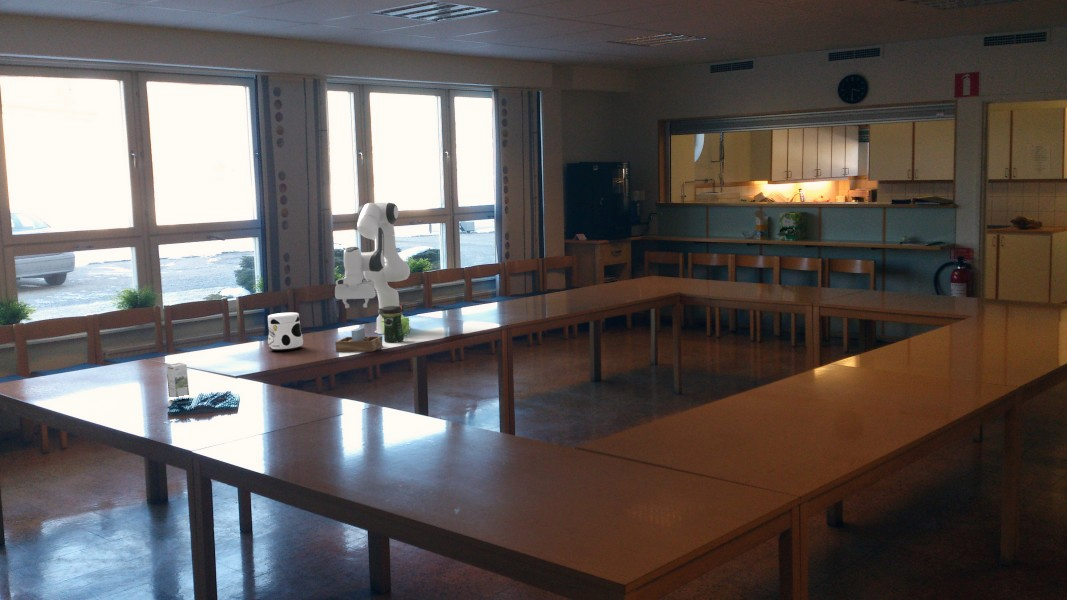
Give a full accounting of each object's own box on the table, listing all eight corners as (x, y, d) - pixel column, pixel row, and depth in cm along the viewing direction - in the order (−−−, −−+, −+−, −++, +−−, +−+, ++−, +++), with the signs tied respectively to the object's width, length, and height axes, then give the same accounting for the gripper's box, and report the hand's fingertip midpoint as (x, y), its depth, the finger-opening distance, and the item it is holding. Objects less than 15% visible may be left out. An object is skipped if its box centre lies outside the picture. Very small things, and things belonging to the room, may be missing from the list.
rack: (347, 346, 483) (346, 336, 482) (382, 346, 479) (381, 336, 478) (336, 351, 469) (335, 341, 469) (372, 351, 465) (371, 341, 465)
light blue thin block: (360, 345, 479) (359, 327, 478) (365, 345, 479) (364, 327, 478) (352, 348, 470) (351, 331, 468) (358, 348, 469) (356, 330, 468)
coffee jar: (406, 340, 493) (403, 305, 490) (397, 343, 486) (395, 307, 483) (390, 339, 497) (388, 304, 495) (381, 342, 490) (379, 306, 488)
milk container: (261, 352, 480) (258, 317, 478) (285, 345, 495) (282, 311, 493) (287, 353, 472) (284, 317, 470) (310, 347, 487) (308, 312, 485)
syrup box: (182, 397, 384) (178, 362, 382) (190, 399, 380) (186, 363, 378) (169, 400, 379) (165, 364, 377) (177, 402, 375) (173, 366, 374)
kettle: (382, 339, 500) (381, 318, 498) (382, 335, 513) (380, 314, 512) (411, 337, 502) (409, 316, 501) (410, 333, 516) (408, 312, 514)
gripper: (376, 278, 471) (378, 306, 472) (337, 279, 475) (339, 307, 477) (371, 280, 464) (373, 308, 466) (332, 281, 469) (334, 309, 471)
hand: (356, 307), depth 472 cm, fingers open, 8 cm apart
